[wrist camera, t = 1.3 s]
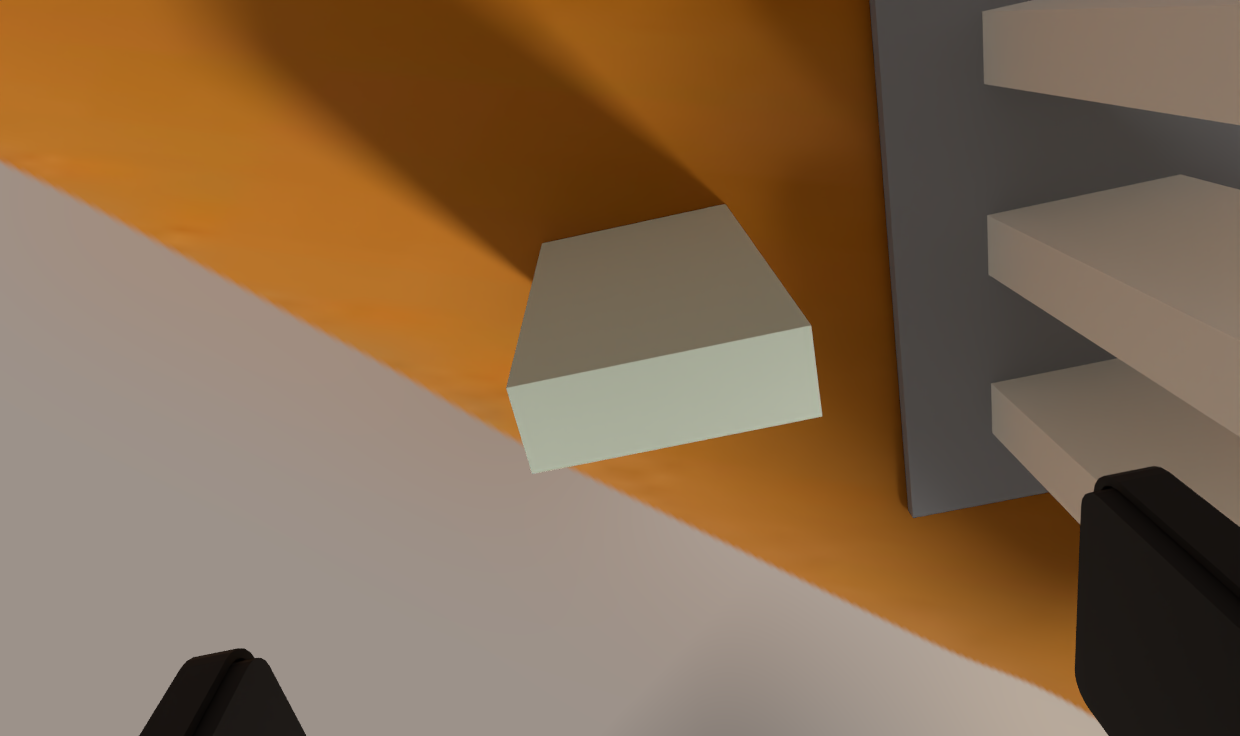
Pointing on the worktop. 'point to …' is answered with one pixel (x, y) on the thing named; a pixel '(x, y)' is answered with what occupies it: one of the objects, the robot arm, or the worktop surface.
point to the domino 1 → (656, 342)
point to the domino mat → (958, 239)
